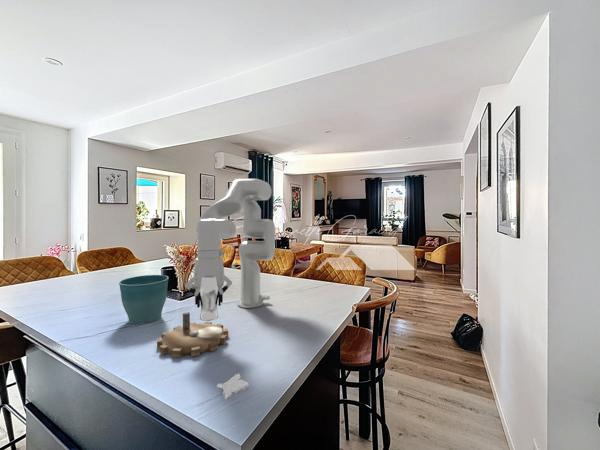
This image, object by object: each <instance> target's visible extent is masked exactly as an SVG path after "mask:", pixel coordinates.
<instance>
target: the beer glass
mask: <svg viewBox="0 0 600 450" xmlns="http://www.w3.org/2000/svg"><path fill="white" fill-rule="evenodd" d="M218 295H219V287H218V285H217V280H216V276H215V277H202V281H201V286H200V288H199V296H200V315H199V320H200V321H203V322H212V321H215V320H217V319H218V318H219V313H218Z"/></svg>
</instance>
